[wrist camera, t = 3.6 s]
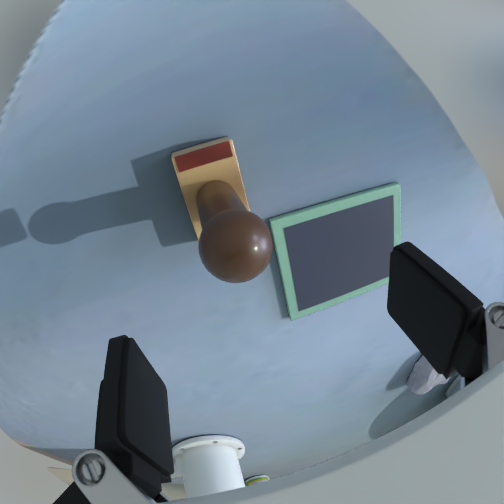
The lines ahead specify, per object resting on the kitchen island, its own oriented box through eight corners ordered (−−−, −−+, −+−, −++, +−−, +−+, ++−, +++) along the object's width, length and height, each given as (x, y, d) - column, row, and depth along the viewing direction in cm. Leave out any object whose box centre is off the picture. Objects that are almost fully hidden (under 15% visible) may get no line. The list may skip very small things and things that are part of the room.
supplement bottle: (241, 479, 54) (251, 516, 46) (263, 472, 54) (275, 509, 46) (250, 484, 57) (260, 518, 49) (271, 477, 57) (282, 511, 49)
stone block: (417, 343, 46) (401, 388, 49) (435, 356, 42) (417, 402, 45) (455, 330, 50) (440, 372, 52) (472, 341, 45) (454, 383, 48)
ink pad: (289, 317, 33) (291, 321, 33) (268, 218, 27) (270, 221, 27) (396, 276, 35) (398, 278, 34) (396, 181, 29) (400, 183, 28)
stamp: (249, 224, 27) (300, 311, 17) (199, 240, 27) (220, 337, 16) (226, 135, 23) (272, 167, 13) (171, 152, 23) (167, 199, 12)
